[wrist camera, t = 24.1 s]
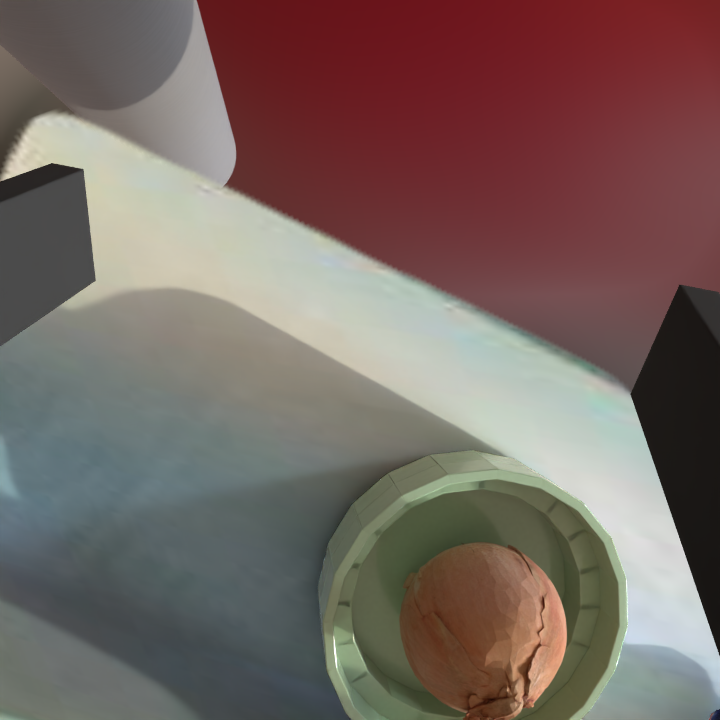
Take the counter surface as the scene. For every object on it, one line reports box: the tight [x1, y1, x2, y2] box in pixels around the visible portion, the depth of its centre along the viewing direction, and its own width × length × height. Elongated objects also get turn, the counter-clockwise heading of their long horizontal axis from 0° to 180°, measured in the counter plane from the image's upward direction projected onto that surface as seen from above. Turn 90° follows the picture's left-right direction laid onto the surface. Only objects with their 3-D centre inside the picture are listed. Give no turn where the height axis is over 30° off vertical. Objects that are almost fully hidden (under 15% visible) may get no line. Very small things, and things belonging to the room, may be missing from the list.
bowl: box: [318, 450, 628, 720], centre depth 38 cm, size 18×18×5 cm
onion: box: [399, 542, 567, 720], centre depth 35 cm, size 10×9×10 cm
